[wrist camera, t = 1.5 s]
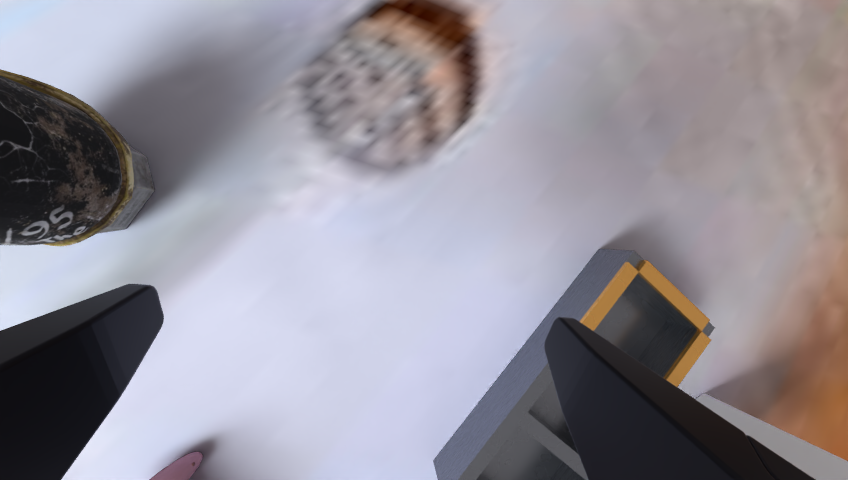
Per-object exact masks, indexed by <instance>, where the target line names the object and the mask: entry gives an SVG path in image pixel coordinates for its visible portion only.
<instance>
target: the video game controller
mask: <svg viewBox="0 0 848 480" xmlns="http://www.w3.org/2000/svg"><path fill="white" fill-rule="evenodd" d="M202 458H203V456H202V454H201V453H200V452H192V453H189V454H187V455H185V456H183V457H181V458H180V459H178V460H176V461H175V462H173V463H171V464H170V465H168V466H167V467H166V468H164V469H163V470H161V471H160V472H158V473H157V474H156V475H155V476H153V477H152V478H151V479H150V480H189V478H190V477H191V476H192V474H193V473H194V472H195V471H196V469H197V468H198V466H199V465H200V463H201V461H202Z"/></svg>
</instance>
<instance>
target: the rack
mask: <svg viewBox="0 0 848 480" xmlns="http://www.w3.org/2000/svg"><path fill="white" fill-rule="evenodd" d="M557 317H571V318H574V319H576V320H578V321H579V322H581V323H582V324H584V325H585V326H587V327H588V328H590V329H591V330H593V331H594V332H596V333H597V334H599V335H600V336H602V337H603V338H605V339H606V340H607V341H609V342H610V343H612V344H613V345H615V346H616V347H618V348H619V349H621V350H622V351H624V352H625V353H627V354H628V355H630V356H631V357H633V358H634V359H636V360H637V361H639V362H640V363H642V364H643V365H645V366H646V367H648V368H649V369H651V370H652V371H654V372H655V373H657V374H658V375H660V376H661V377H663V378H664V379H666V380H667V381H669V382H670V383H672V384H673V385H675V386H676V387H678V385H679V384H680V383H681V381H682V380H683V379H684V377H685V376H686V374H687V373H688V372H689V370H690V369H691V367H692V366H693V365H694V363H695V362H696V360H697V359H698V358H699V356H700V355H701V354H702V352H703V351H704V349H705V348H706V347H707V345H708V344H709V342H710V341H711V339H710V338H708V336H709V335H710V334H711V332H712V331H713V330H714V328H715V327H714V326H712V325H711V324H710V323H709V321H710V320H709V319H708V318H707V317H706V316H705V315H704V314H703V313H702V312H701V311H700V310H699V309H698V308H697V307H696V306H695V305H694V304H693V303H692V302H690V301H689V300H688V299H687V298H686V297H685V296H684V295H683V294H682V293H681V292H680V291H679V290H678V289H677V288H676V287H675V286H674V285H673V284H672V283H671V282H669V281H668V280H667V279H666V278H665V277H664V276H663V275H662V274H661V273H660V272H659V271H658V270H657V269H656V268H655V267H654V266H653V265H652V264H651V263H650V262H649V261H647V260H643V259H642V258H641V257H640V256H639V255H638V254H637V253H636V252H635V251H628V250H607V249H599V250H598V251H597V252H596V254H595V255H594V256H593V258H592V259H591V260H590V261H589V263H588V264H587V265H586V266H585V268H584V269H583V270H582V272H581V273H580V274H579V275H578V277H577V278H576V279H575V281H574V282H573V283H572V284H571V286H570V287H569V288H568V289H567V291H566V292H565V293H564V295H563V296H562V297H561V298H560V300H559V301H558V302H557V303H556V305H555V306H554V307H553V309H552V310H551V311H550V312H549V314H548V315H547V316H546V318H545V319H544V320H543V321H542V323H541V324H540V325H539V326H538V328H537V329H536V330H535V332H534V333H533V334H532V335H531V337H530V338H529V339H528V341H527V342H526V343H525V344H524V346H523V347H522V348H521V349H520V351H519V352H518V353H517V355H516V356H515V357H514V358H513V360H512V361H511V362H510V364H509V365H508V366H507V367H506V369H505V370H504V371H503V372H502V374H501V375H500V376H499V378H498V379H497V380H496V381H495V383H494V384H493V385H492V387H491V388H490V389H489V390H488V392H487V393H486V394H485V395H484V397H483V398H482V399H481V401H480V402H479V403H478V404H477V406H476V407H475V408H474V409H473V411H472V412H471V413H470V415H469V416H468V417H467V418H466V420H465V421H464V422H463V424H462V425H461V426H460V427H459V429H458V430H457V431H456V432H455V434H454V435H453V436H452V438H451V439H450V440H449V441H448V443H447V444H446V445H445V447H444V448H443V449H442V450H441V452H440V453H439V454H438V455H437V457H436V458H435V459H434V461H433V462H434V466H435V470H436V474H437V478H438V480H588V477H587V475H586V472H585V470H584V467H583V464H582V462H581V459H580V457H579V454H578V452H577V449H576V446H575V444H574V441H573V439H572V436H571V434H570V431H569V428H568V426H567V423H566V421H565V418H564V415H563V412H562V409H561V406H560V403H559V400H558V396H557V393H556V389H555V386H554V382H553V379H552V375H551V372H550V368H549V364H548V361H547V357H546V354H545V350H544V343H545V339H546V337H547V335H548V332H549V330H550V328H551V326H552V323H553V321H554V320H555V319H556V318H557Z"/></svg>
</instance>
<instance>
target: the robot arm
mask: <svg viewBox="0 0 848 480" xmlns="http://www.w3.org/2000/svg"><path fill="white" fill-rule="evenodd" d="M163 320H164V316H163V311H162V308H161V304H160V300H159V296H158V293H157V290H156V289H155V287H153V286H151V285H142V284H128V285H124V286H122V287H119V288H116V289H114V290H111V291H108V292H105V293H103V294H100V295H97V296H94V297H92V298H89V299H86V300H84V301H81V302H78V303H75V304H73V305H70V306H67V307H64V308H62V309H59V310H56V311H53V312H51V313H48V314H45V315H43V316H40V317H37V318H34V319H32V320H29V321H26V322H23V323H21V324H18V325H15V326H13V327H10V328H7V329H4V330H2V331H0V480H61V479H62V478H63V476H64V475H65V473H66V472H67V471H68V469H69V468H70V467H71V465H72V464H73V462H74V461H75V460H76V458H77V457H78V455H79V454H80V453H81V451H82V450H83V449H84V447H85V446H86V444H87V443H88V442H89V440H90V439H91V437H92V436H93V435H94V433H95V432H96V430H97V429H98V428H99V426H100V425H101V424H102V422H103V421H104V419H105V418H106V417H107V415H108V414H109V412H110V411H111V410H112V408H113V407H114V405H115V404H116V402H117V401H118V400H119V398H120V397H121V395H122V393H123V392H124V390H125V389H126V387H127V385H128V384H129V382H130V380H131V379H132V377H133V375H134V374H135V372H136V370H137V368H138V367H139V365H140V363H141V362H142V360H143V358H144V356H145V355H146V353H147V351H148V350H149V348H150V346H151V344H152V343H153V341H154V339H155V338H156V336H157V334H158V332H159V331H160V329H161V327H162V324H163ZM544 350H545V354H546V357H547V361H548V364H549V368H550V372H551V375H552V379H553V382H554V386H555V389H556V393H557V396H558V400H559V403H560V406H561V409H562V412H563V415H564V418H565V421H566V423H567V426H568V428H569V431H570V434H571V436H572V439H573V441H574V444H575V446H576V449H577V452H578V454H579V457H580V459H581V462H582V464H583V467H584V470H585V472H586V475H587V477H588V480H816V479H814V478H813V477H811V476H809V475H808V474H806V473H805V472H803V471H802V470H800V469H799V468H797V467H796V466H794V465H793V464H791V463H790V462H788V461H787V460H785V459H784V458H782V457H781V456H779V455H778V454H776V453H774V452H773V451H772V450H770V449H769V448H767V447H766V446H764V445H763V444H761V443H760V442H758V441H757V440H755V439H754V438H752V437H751V436H749V435H745V433H744V432H743V431H742V430H740V429H739V428H737V427H736V426H734V425H733V424H731V423H730V422H728V421H727V420H725V419H724V418H722V417H721V416H719V415H718V414H716V413H715V412H713V411H712V410H710V409H709V408H707V407H706V406H704V405H703V404H701V403H700V402H698V401H697V400H695V399H694V398H692V397H691V396H689V395H688V394H686V393H685V392H683V391H682V390H680V389H679V388H678V387H676V386H675V385H673V384H672V383H670V382H669V381H667V380H666V379H664V378H663V377H661V376H660V375H658V374H657V373H655V372H654V371H652V370H651V369H649V368H648V367H646V366H645V365H643V364H642V363H640V362H639V361H637V360H636V359H634V358H633V357H631V356H630V355H628V354H627V353H625V352H624V351H622V350H621V349H619V348H618V347H616V346H615V345H613V344H612V343H610V342H609V341H607V340H606V339H605V338H603V337H602V336H600V335H599V334H597V333H596V332H594V331H593V330H591V329H590V328H588V327H587V326H585V325H584V324H582V323H581V322H579V321H578V320H576V319H574V318H571V317H557V318H556V319H555V320H554V321H553V323H552V326H551V328H550V330H549V332H548V335H547V337H546V339H545V343H544Z"/></svg>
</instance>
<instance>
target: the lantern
mask: <svg viewBox="0 0 848 480" xmlns="http://www.w3.org/2000/svg"><path fill="white" fill-rule="evenodd" d="M154 190H155V189H154V185H153V181H152V177H151V173H150V169H149V165H148V161H147V157H146V156H145V155H143V154H142V153H140V152H139V151H137V150H135V149H134V148H132V147H131V146H129V145H128V144H127V142H126V140H125V139H124V138H123V137H122V136H121V134H120V133H119V132H118V131H117V130H116V129H115V128H113V127H112V126H111V125H110V124H109V123H108V122H107V121H106V120H105V119H104V118H103V117H102V116H101V115H100V114H99V113H98V112H96V111H95V110H94V109H93V108H92V107H91V106H89V105H88V104H86V103H84V102H83V101H81V100H80V99H78V98H76V97H75V96H73V95H71V94H69V93H67V92H64V91H62V90H60V89H58V88H55V87H53V86H51V85H48V84H45V83H43V82H40V81H37V80H34V79H31V78H29V77H25V76H22V75H18V74H15V73H11V72H7V71H4V70H0V245H36V244H45V245H51V246H67V245H72V244H75V243H78V242H81V241H83V240H85V239H87V238H89V237H91V236H93V235H95V234H97V233H104V232H110V231H117V230H124V229H126V228H127V227H128V225H129V224H130V223H131V221H132V220H133V219H134V217H135V216H136V215H137V213H138V212H139V211H140V209H141V208H142V207H143V205H144V204H145V203H146V201H147V200H148V199H149V197H150V196H151V195H152V193H153V192H154Z"/></svg>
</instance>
